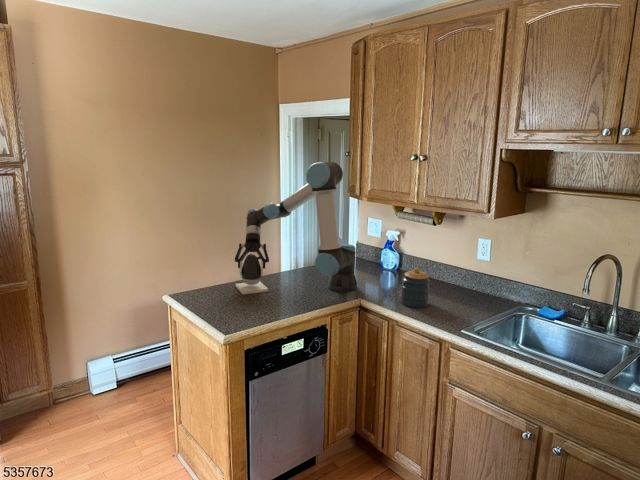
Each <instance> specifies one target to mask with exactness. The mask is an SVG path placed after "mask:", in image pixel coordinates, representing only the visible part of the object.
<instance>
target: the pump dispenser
mask: <svg viewBox="0 0 640 480" xmlns="http://www.w3.org/2000/svg"><path fill="white" fill-rule="evenodd" d="M261 258H262V256H259V255H258V256H257V255H256V254H255V253H250V254H249V253H248V254H247V255H246V256H245V258H244V260H243V262H242V275H240V277H241V279H242V281H243V282H242V283H246V284H248V285H255V284H257V283H259V282H261V280H262V278H263V277H262V276H263V275H261V264H260V263H261V262H260V261H259V260H261Z"/></svg>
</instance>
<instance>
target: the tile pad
mask: <svg viewBox="0 0 640 480" xmlns="http://www.w3.org/2000/svg"><path fill="white" fill-rule="evenodd" d="M235 288H236V289H237V291H239V292H240V294H241V295H249V294H257V293H258V294H259V293H266V292H269V289H268V287H267V286H266V285H265V284H264V283H263V282H261V281H260V282H259V283H257V284H255V285H248V284H246V283H244V282H241V283H239V282H238V283H235Z"/></svg>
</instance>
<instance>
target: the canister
mask: <svg viewBox="0 0 640 480" xmlns="http://www.w3.org/2000/svg"><path fill="white" fill-rule="evenodd" d="M429 277H430V276H429V274H428V273H426V272H425V271H422V270H421V269H420V268H419V267H414V269H411V270H408V271H406V272H404V276H403V277H402V278H401V280H402V284H401V293H400V303H401V304H402V305H404V306H405V307H409V308H413V309H414V308H416V309H422V308H425V307H428V304H429V296H430V294H429V293H430V286H429V285H430V283H431V280H430V279H429Z"/></svg>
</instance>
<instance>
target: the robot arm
mask: <svg viewBox="0 0 640 480" xmlns="http://www.w3.org/2000/svg"><path fill="white" fill-rule="evenodd" d="M305 174H306V175H305V179H306V182H307V183H306V184H305V185H304V186H302V187H300V188H299V189H298V190H297V191H295V192H293V193H292V194H291V195H289V196H288V197H286V198H285V199H283V201H281V202H279V203H277V204H276V203H274V202H270V203H268V204H266V205H264V206H263V207H261V208H260V209H257V208H252V209H248V211H247V214H246V228H245V241H244V243H239V244H238V249H237V252H236V255H235V257H234V263H237V268H238V269H239V275H240V276H241V275H242V267H243V261H244V260H245V259H246V257H247V256H248V255H249V253H256V254H257V255H258V257H259V256H262V258H261V259H260V260H261V262H260V263H261V264H260V266H261V275H262V276H263V274H264V270H265V269H266V263H269V262H270V257H269V255H268V251H267V244H266V243H264V244H261V231H262V230H261V229H262V228H261V227H262V225H263V224H265V223H267V222H269V221H271V220H272V221H273V220H276V219H282V218H287V217H289V216H290V215H291V214H292V212H293V211H295V210H297V209H298V208H299V207H302V206H303V205H304V204H306V203H307V202H308V201H310V200H312V199H313V198H315V203H316V215H317V222H318V232H319V243H320V244H319V246H318V247H317V256H315V259H314V265H315V268H316V270H317V272H319V274H321V275H323V276H325V277H329V280H328V282H327V283H328V284H327V288H328V289H329V290H332V291H333V292H334V291H336V292H343V293H346V292H347V293H349V292H355V291H356V290H357V288H358V282H357V279H356V275H355V270H356V269H355V268H356V266H355V265H356V254H357V252H356V251H357V249H356V246H355V245H353V244H349V243H340V242H339V239H338V229H337V228H338V227H337V220H336V219H337V217H336V207H335V197H334V194H335V191H336V190H337V185H339V184H340V183H341V181H342V179H343V177H344V171H343V168H342V166H341V165H340V164H338V163H337V162H335V161H319V162H315V163H312V164H311V165H310V166H309V167H308V169H307V171H306V173H305ZM244 248H245V249H244ZM243 249H244V251H243V253H242V254H241V252H242V250H243ZM260 249H262V250H263V251H262V252H263V254H264V255H263V254H262V252H261V251H260Z"/></svg>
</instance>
